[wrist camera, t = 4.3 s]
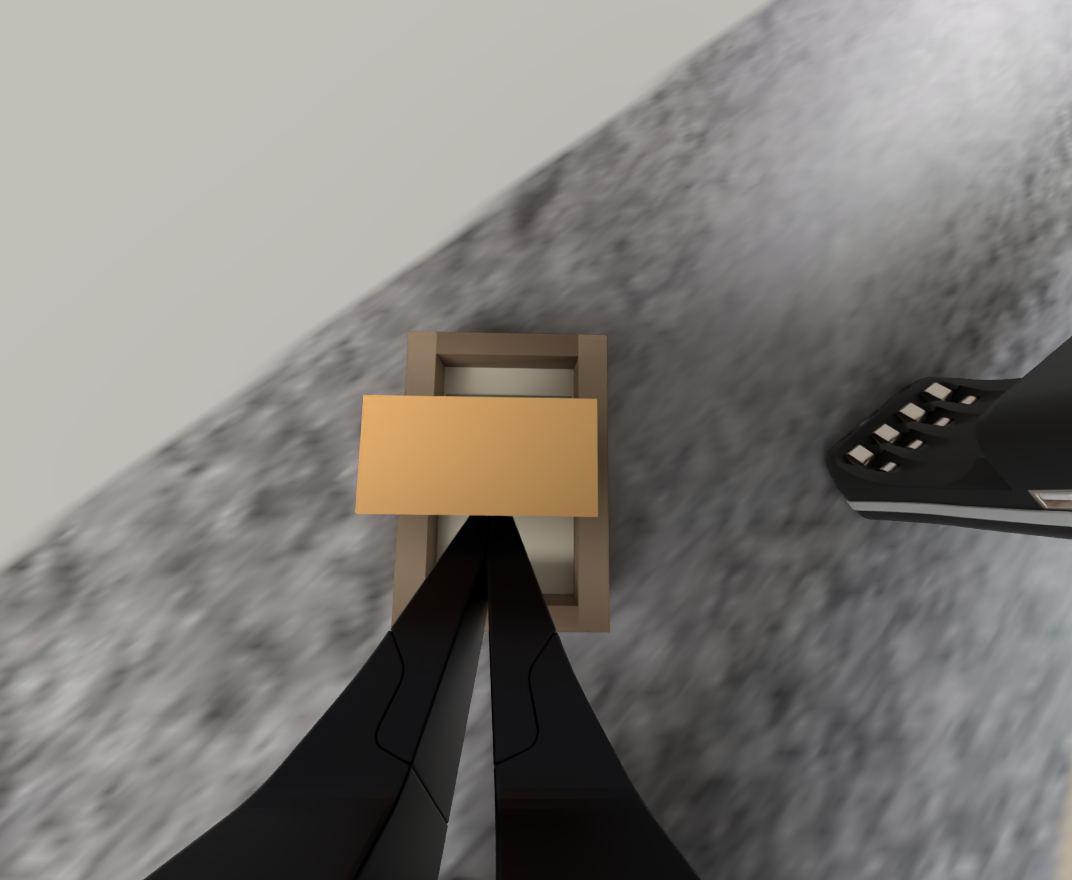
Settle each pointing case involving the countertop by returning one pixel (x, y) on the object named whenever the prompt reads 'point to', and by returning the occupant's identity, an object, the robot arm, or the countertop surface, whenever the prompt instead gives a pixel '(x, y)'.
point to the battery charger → (968, 453)
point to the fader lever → (478, 456)
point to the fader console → (550, 541)
